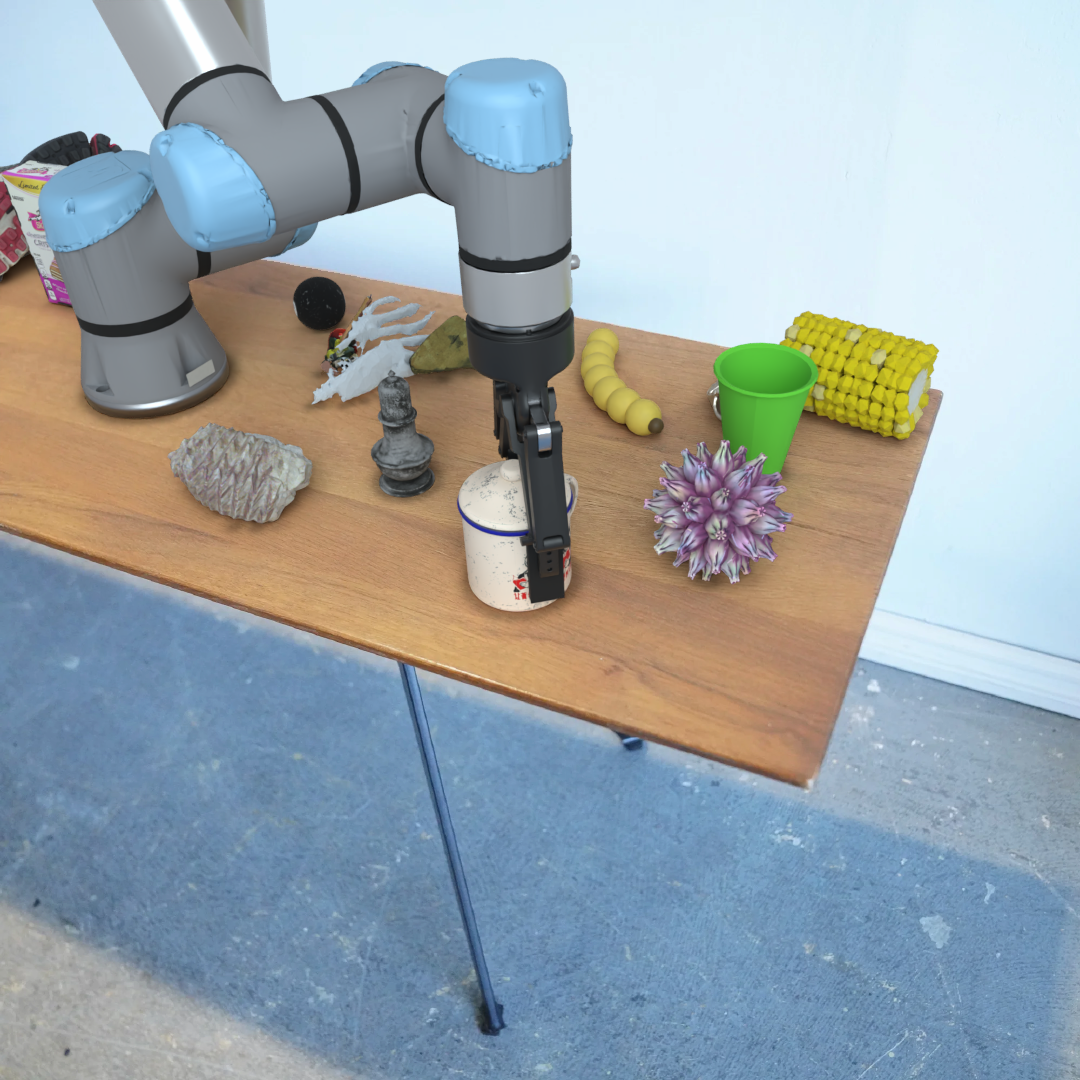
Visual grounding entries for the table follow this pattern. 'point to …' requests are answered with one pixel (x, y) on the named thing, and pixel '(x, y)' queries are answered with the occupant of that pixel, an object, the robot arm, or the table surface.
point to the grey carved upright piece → (401, 442)
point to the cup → (763, 398)
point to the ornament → (715, 399)
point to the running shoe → (3, 233)
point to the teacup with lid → (502, 535)
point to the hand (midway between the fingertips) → (533, 558)
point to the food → (864, 373)
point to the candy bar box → (36, 222)
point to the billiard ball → (319, 303)
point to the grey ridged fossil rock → (240, 472)
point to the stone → (443, 349)
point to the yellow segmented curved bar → (616, 386)
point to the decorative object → (375, 351)
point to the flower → (718, 511)
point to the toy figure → (336, 338)
